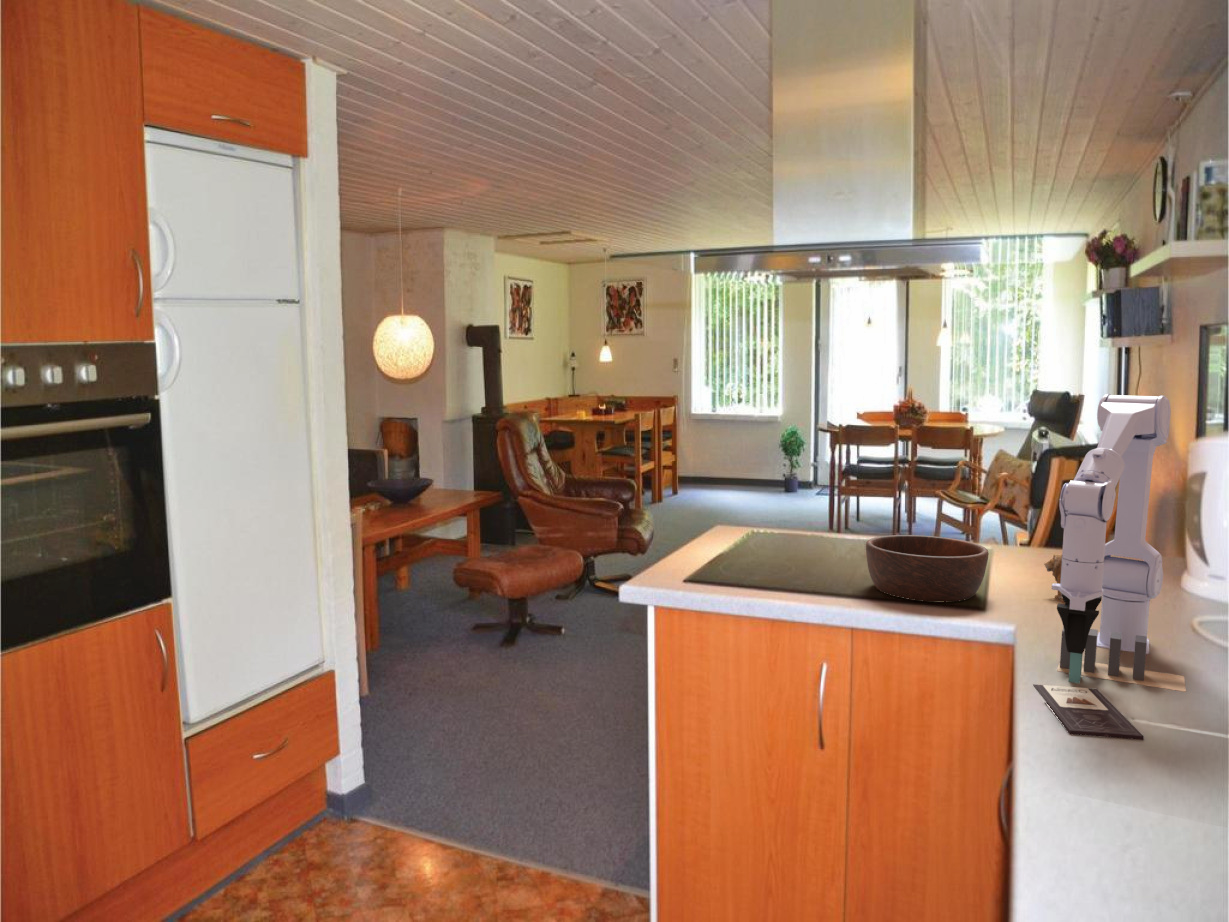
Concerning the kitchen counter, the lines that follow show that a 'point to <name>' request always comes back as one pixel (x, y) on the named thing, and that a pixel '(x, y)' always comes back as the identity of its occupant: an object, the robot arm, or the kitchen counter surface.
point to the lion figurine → (1055, 570)
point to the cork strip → (1127, 676)
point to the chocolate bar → (1087, 712)
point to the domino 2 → (1075, 667)
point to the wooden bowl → (926, 566)
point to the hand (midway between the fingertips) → (1076, 646)
